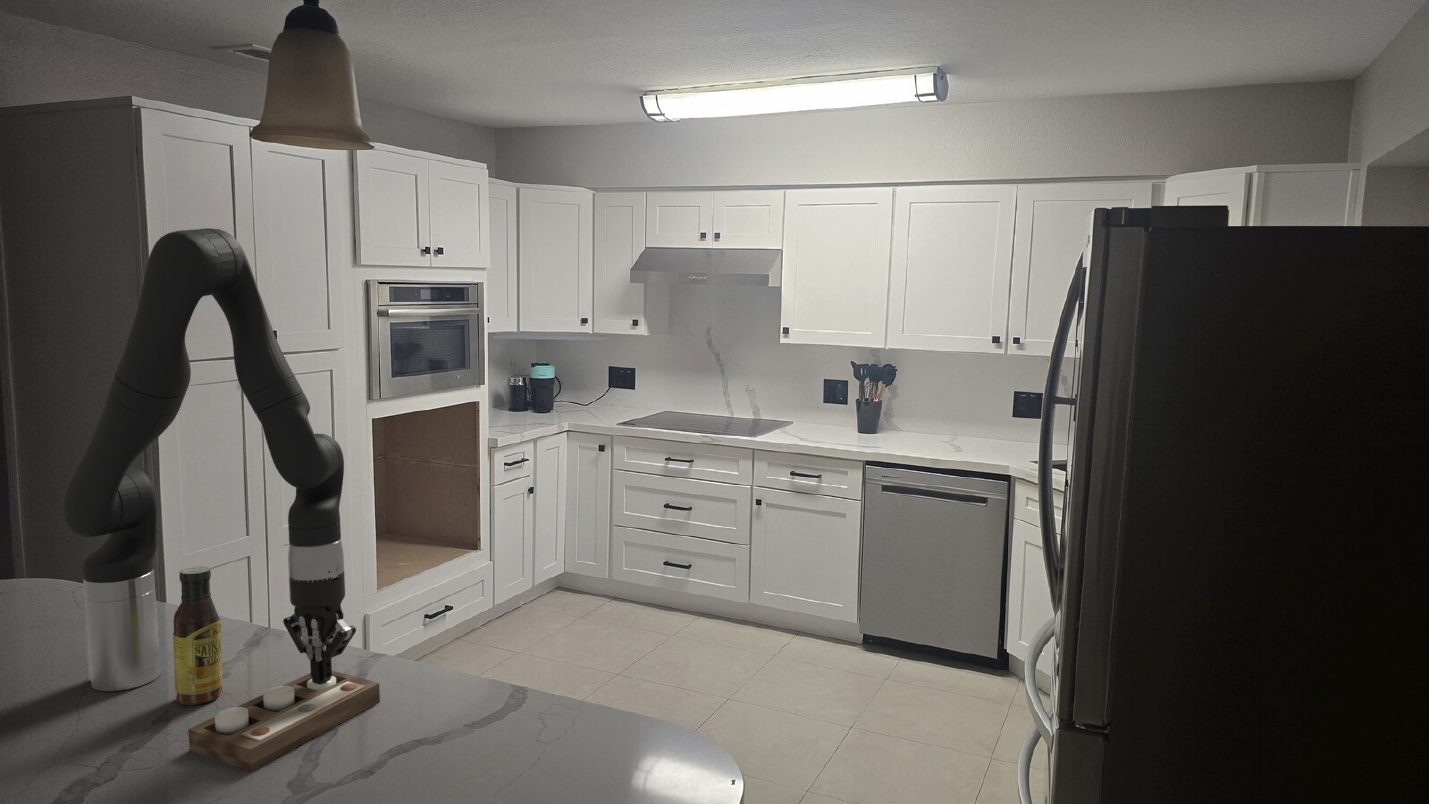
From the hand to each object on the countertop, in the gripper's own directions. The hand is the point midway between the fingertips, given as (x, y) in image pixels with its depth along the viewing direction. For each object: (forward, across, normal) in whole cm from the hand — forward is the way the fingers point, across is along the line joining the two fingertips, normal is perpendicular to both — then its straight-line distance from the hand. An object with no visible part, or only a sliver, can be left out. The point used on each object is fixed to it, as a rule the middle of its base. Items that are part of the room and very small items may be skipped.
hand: (321, 681), depth 137 cm
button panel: (+3, +2, -7) cm, 8 cm away
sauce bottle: (+3, -17, -7) cm, 19 cm away
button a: (+2, 0, 0) cm, 2 cm away
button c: (+1, 0, -15) cm, 15 cm away
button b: (+1, 0, -7) cm, 7 cm away
